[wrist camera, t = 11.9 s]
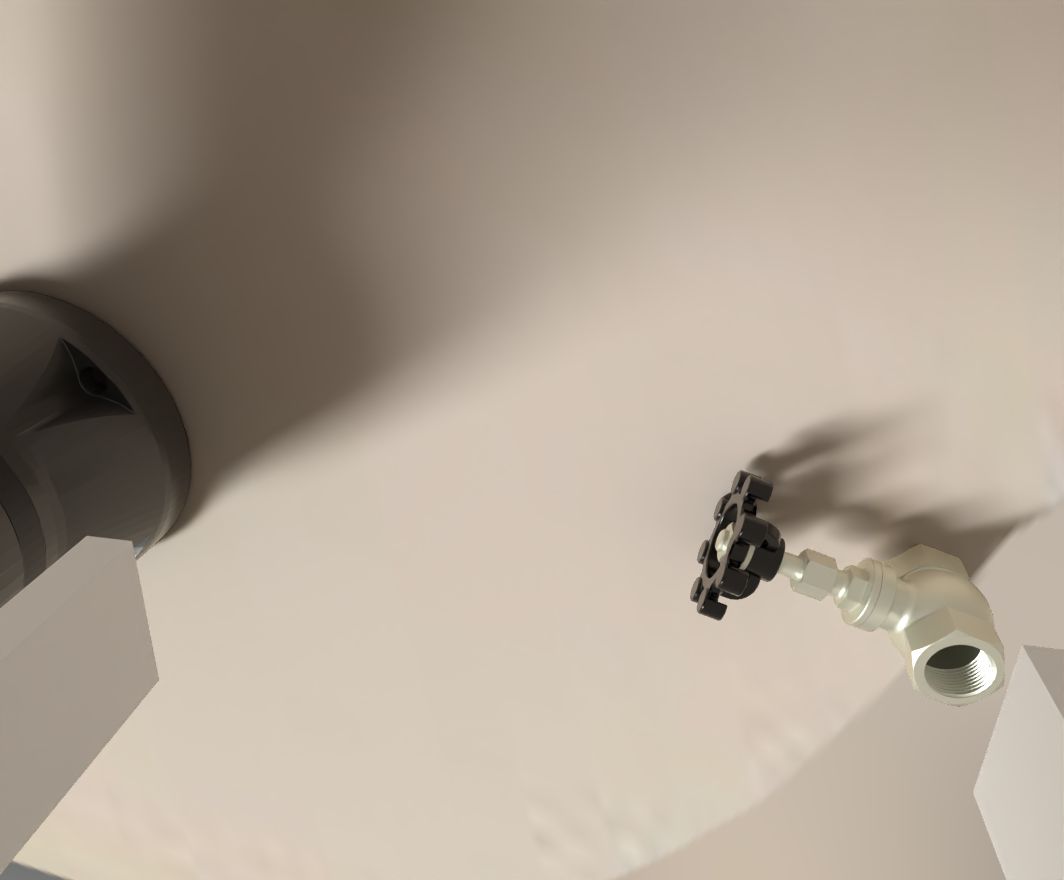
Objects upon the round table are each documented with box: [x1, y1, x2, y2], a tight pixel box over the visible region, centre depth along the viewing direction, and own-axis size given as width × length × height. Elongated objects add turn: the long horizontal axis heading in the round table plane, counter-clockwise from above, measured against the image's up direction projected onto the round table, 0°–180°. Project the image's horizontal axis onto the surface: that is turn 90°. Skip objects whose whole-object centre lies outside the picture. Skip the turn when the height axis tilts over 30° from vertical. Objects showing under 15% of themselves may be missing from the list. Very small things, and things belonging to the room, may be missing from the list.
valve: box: [690, 470, 1005, 707], centre depth 37 cm, size 7×7×12 cm
